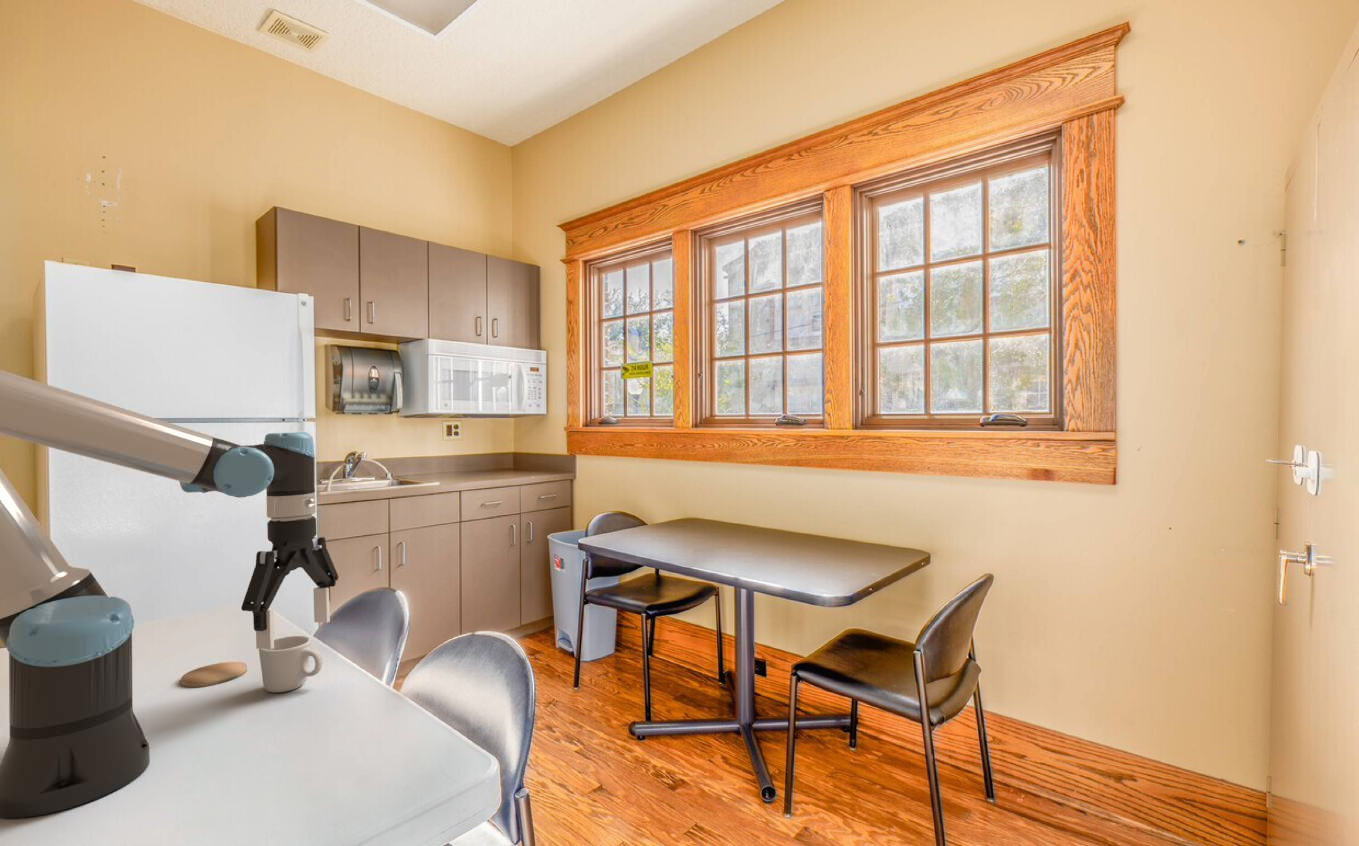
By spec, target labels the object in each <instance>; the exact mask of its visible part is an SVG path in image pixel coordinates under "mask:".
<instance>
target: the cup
mask: <svg viewBox="0 0 1359 846" xmlns="http://www.w3.org/2000/svg"><path fill="white" fill-rule="evenodd" d="M311 647H312V639H311V638H310V637H309V636H305V635H304V636H303V635H297V636H296V635H294V636H286V637H281V638H274V648H272V649H258V654H259V661H260V663H259V664H260V669H261V678H262V684H263V687H264V689H265V690H266V691H267V692H270V693H285V692H289V691H292V690H296V689H299V688H300V687H302V686H303V685H304V684H305V683H306V681H307V678H308V677H309V678H310V677H314V676H316V675H318V674H319V673H320V672H321V669H322V665H323V656H322V654H321V653H320V651H318V650H317V649H313V648H311ZM310 657H312V658H313V659H314V665H315V666H314V668H313V670H312V669H311V668H310V666H309V665H310Z"/></svg>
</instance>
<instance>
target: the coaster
mask: <svg viewBox="0 0 1359 846" xmlns="http://www.w3.org/2000/svg"><path fill="white" fill-rule="evenodd" d="M247 671H248V665H247V664H246V663H245V662H243V661H242V662H241V661H226V662H218V663H213V664H208V665H204V666H201V667H198V668H194V669H192V670H190V671H187V672H185V674H183V675H181V678H180V685H181V686H183V687H187V688H201V687H209V686H214V685H219V684H223V683H226V682H229V681H233V680H234V679H237V678H240V677H242V676H243V675H244V674H246V673H247Z"/></svg>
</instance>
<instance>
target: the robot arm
mask: <svg viewBox="0 0 1359 846" xmlns="http://www.w3.org/2000/svg"><path fill="white" fill-rule="evenodd" d="M0 435H2V436H6V437H10V438H14V439H17V440H20V441H24V442H29V443H31V444H32V443H33V444H35V445H40V446H44V447H49V448H51V449H55V450H59V451H63V452H67V453H71V454H75V455H78V456H83V457H86V458H89V459H94V460H98V461H101V462H104V463H109V464H113V465H117V466H121V467H125V468H128V469H132V470H136V471H140V472H144V473H147V474H151V475H155V476H159V477H162V478H166V479H170V480H174V481H178V482H179V485H180V489H181V490H182V491H183V492H185V493H201V494H206V493H208V492H209V493H210V492H218V493H222V494H224V495H227V496H230V497H233V498H234V497H235V498H246V497H252V496H255V495H257V494H259V493H261V492H263V491H264V490H265V489H266V490H265V491H266V492H265V493H266V518H269V520H268V522H266V523H267V527H266V528H267V540H268V541H269V542H270V543H271V544H272V548H271V550H269V551H268V550H259V551H257V553H256V556H255V567H254V569H253V571H252V575H251V578H250V581H249V584H248V587H247V590H246V593H245V596H244V599H243V601H242V605H241V610H242V611H243V612H244V611H245V612H252V615H253V617H252V618H253V619H252V620H253V630H254V631H255V640H256V642H255V643H256V645H255V646H256V650H257V649H258V650H259V649H272V648H274V640H275V634H274V633H275V632H274V631H275V630H274V629H275V628H274V627H275V625H274V609H271V608H270V606H271V605H272V603H273V601H274V600H275V598H276V595H277V593H278V592H279V589H280V587H281V586H282V584H283V582H284V580H285V578H286V577H287V576H288V575H289V574H290V573H291V571H296V570H297V569H299V568H302V570H303V571H304V572H305V573H306V574H307V575H308V577H309V578H310V579H311V581H313V583H314V584H315V585H316V587H314V588H313V590H312V591H313V617H314V618H313V621H314V623H324V624H325V623H329V622H331V619H330V618H331V616H330V613H331V612H330V611H331V610H330V602H331V587H333V588H334V587H335V586H336V584H337V583H336V582H337V581H338V580H339V574H338V572H337V569H336V567H335V565H334V562H333V560H332V558H331V556H330V553H329V552H328V548H327V543H326V538H325V536H317V518H316V517H315V516H313V515H314V514H315V513H316V512H317V511H316V510H317V509H316V493H315V492H316V488H315V486H316V485H315V484H316V482H315V479H316V478H315V477H316V476H315V475H316V474H315V471H316V470H315V469H316V468H315V467H316V466H315V465H316V464H315V462H316V461H315V460H316V455H315V446H314V440H313V439H314V438H313V436H312V435H311V434H310V433H308V432H274V433H271V432H270V433H267V434H265V436H264V441H263V443H260V444H254V445H253V444H252V445H251V444H250V445H241V444H238V443H235V442H232V441H228V440H224V439H221V438H218V437H213V436H212V435H210V434H205V433H202V432H199V431H197V430H193V429H189V428H187V427H184V426H181V425H177V424H174V423H170V422H167V421H165V420H161V419H158V418H155V417H152V416H148V415H145V414H142V413H139V412H135V411H133V410H129V409H126V408H123V407H120V406H116V405H113V404H111V403H107V402H103V401H101V400H97V399H94V398H92V397H88V396H84V395H82V394H78V393H75V392H72V391H69V390H65V389H63V388H59V387H56V386H52V385H49V384H46V383H43V382H40V381H37V380H35V379H34V380H33V379H30V378H28V377H25V376H21V375H18V374H14V373H11V372H8V371H6V370H2V369H0ZM316 536H317V537H316ZM269 608H270V609H269ZM134 627H135V620H134V615H133V614H132V608H131V605H130V604H129V603H128V602H127V601H126V600H124V599H123V598H120V597H118V596H117V597H116V596H108V595H107V593H106V591H105V590H104V589H103V587H102V586H101V584H100V583H99V582H98V581H97V579H96V577H95V576H94V575H93V573H92V572H91V571H90V569H88V568H81V567H74V566H71V565H69V563H68V562H67V560H66V559H65V558H64V556H63V554H62V553H61V552H60V551H59V549H58V548H57V546H56V544H55V543H54V542H53V541H52V539H51V537H50V536H49V535H48V534H47V532H46V531H45V529H44V528H43V526H42V525H41V524H40V523H39V521H38V519H37V518H36V516H35V515H34V514H33V512H32V511H31V510H30V508H29V507H28V505H27V504H26V503H25V501H24V499H22V496H21V495H20V494H19V492H18V491H17V489H16V488H15V487H14V485H13V483H11V481H10V480H9V478H8V476H7V475H6V474H5V473H4V471H3V469H1V467H0V641H1V642H2V644H3V645H4V646H5V647H6V649H7V651H8V659H9V660H8V664H9V665H8V666H9V667H8V668H9V669H8V670H9V671H8V672H9V673H8V679H9V681H8V683H9V685H8V686H9V687H8V688H9V689H8V690H9V695H8V698H9V699H8V700H9V703H8V705H9V707H8V708H9V712H8V715H9V717H8V719H9V740H8V744H7V746H6V749H5V751H4V753H3V757H2V759H1V761H0V818H2V819H3V818H4V819H20V818H30V817H37V816H42V815H47V814H50V813H51V814H52V813H56V812H60V811H64V810H67V809H70V808H74V807H77V806H80V805H83V804H86V803H88V802H92V801H94V800H97V799H99V798H101V797H104V796H106V795H108V794H111V793H112V792H114V791H117V790H119V789H121V788H122V787H124V786H126V785H127V784H130V783H131V782H133V781H134V780H136V779H137V778H138V777H139V776H141V775H142V774H143V773H144V772H145V771H146V769H148V767H149V765H150V759H151V757H150V754H151V753H150V745H149V742H148V740H147V739H146V736H145V734H144V732H143V729H142V727H141V725H140V723H139V721H138V718H137V717H136V715H135V712H134V710H133V709H134V707H133V705H134V704H133V630H134Z"/></svg>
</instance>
